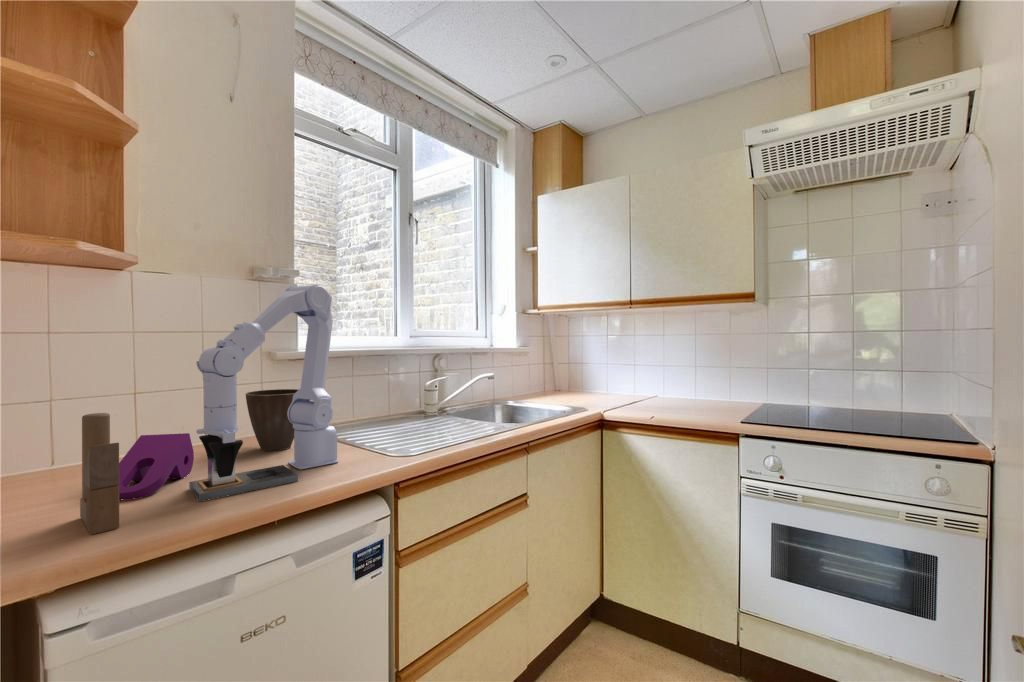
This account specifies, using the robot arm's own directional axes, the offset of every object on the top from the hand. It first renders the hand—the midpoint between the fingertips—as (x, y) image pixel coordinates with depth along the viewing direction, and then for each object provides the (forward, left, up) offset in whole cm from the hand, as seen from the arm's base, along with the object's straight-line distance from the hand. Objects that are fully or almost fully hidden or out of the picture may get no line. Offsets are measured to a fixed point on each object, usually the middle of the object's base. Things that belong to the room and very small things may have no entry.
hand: (220, 472), depth 93 cm
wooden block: (+19, +5, -4) cm, 20 cm away
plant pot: (-19, -30, -4) cm, 36 cm away
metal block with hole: (0, 0, -4) cm, 4 cm away
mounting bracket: (+10, -13, -4) cm, 17 cm away
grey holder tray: (-4, 0, -4) cm, 6 cm away
